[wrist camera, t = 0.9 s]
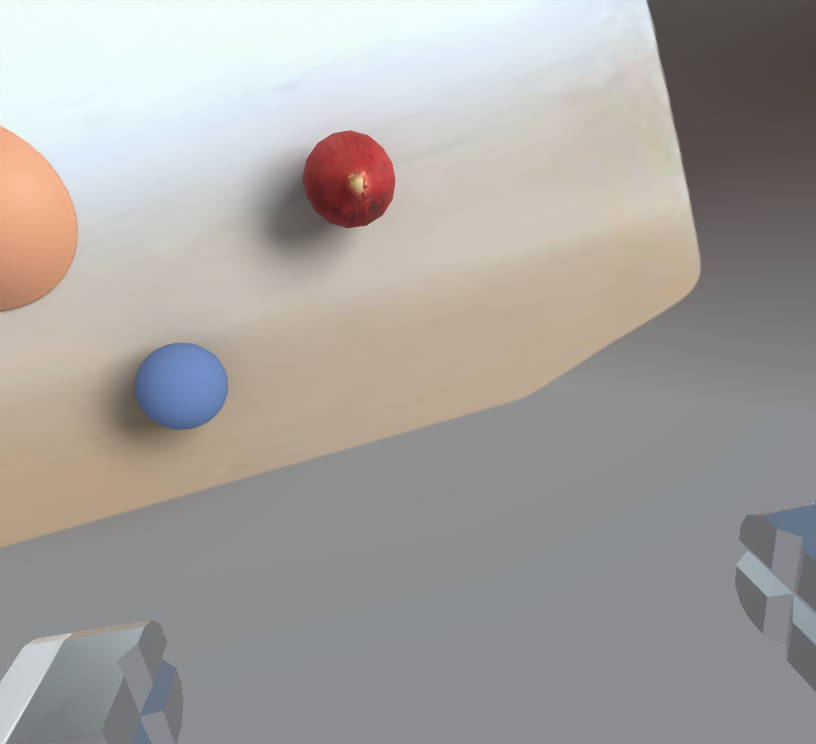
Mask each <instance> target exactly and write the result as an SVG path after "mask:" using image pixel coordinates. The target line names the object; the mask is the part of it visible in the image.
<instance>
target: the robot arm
mask: <svg viewBox="0 0 816 744" xmlns="http://www.w3.org/2000/svg"><path fill="white" fill-rule="evenodd" d="M739 540H740V541H741V542H742V544H743V545H744V546H745V547H746V548H747V550H748V551H747V552H746V553H745V555H744V556H743V557H742V559H741V560H740V561H739V563H738V564H737V565H736V578H735V586H736V589H737V593H738V596H739V599H740V603H741V605H742V607H743V608H744V610H745V612H746V614H747V615H748V617H749V619H750V620H751V621H752V622H753V623H754V625H755V626H756V627H757V628H758V629H759V630H760V631H761V633H762V634H764V635H766V636H768V637H770V638H772V639H774V640H776V641H778V642H781V643H783V644H785V645H786V655H787V661H788V662H789V663H790V664H791V666H792V667H793V668H794V669H795V670H796V671H797V672H798V673H799V674H800V675H801V676H802V678H803V679H804V680H805V681H806V682H807V683H808V684H809V685H810V686H811V687H812V688H813V690H814V691H815V692H816V502H814V503H811V504H805V505H799V506H794V507H788V508H783V509H778V510H772V511H766V512H761V513H756V514H751V515H747V516H746V518H745V519H744V521H743V522H742V524H741V529H740V537H739ZM166 645H167V640H166V638H165V635H164V633H163V630H162V628H161V625H160V623H158V622H155V621H153V620H149V621H143V622H136V623H129V624H123V625H116V626H110V627H103V628H97V629H90V630H84V631H77V632H75V633H69V634H62V635H57V636H49V637H43V638H36V639H34V640H33V641H32V642H30V643H28V644H27V645H25V646H24V647H23V649H22V650H21V652H20V653H19V655H18V656H17V658H16V659H15V661H14V662H13V664H12V665H11V667H10V668H9V670H8V672H7V673H6V675H5V676H4V678H3V679H2V681H1V682H0V744H177V741H178V738H179V734H180V730H181V726H182V713H183V695H182V686H181V681H180V678H179V675H178V672H177V669H176V667H174V666H173V665H171V664H170V663H168V662H166V661H165V660H164V659H162V657H163V653H164V651H165V648H166Z"/></svg>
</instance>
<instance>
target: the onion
mask: <svg viewBox="0 0 816 744" xmlns="http://www.w3.org/2000/svg"><path fill="white" fill-rule="evenodd" d="M303 182H304V187H305V191H306V196H307V198H308V200H309V201H310V203H311V204H312V206H313V208H314V209H315V211H316V212H317V213H318V214H320V215H321V216H322V217H323V218H324V219H326V220H327V221H328V222H329V223H332V224H336V225H339V226H342V227H346V228H351V227H359V226H366V225H368V224H370V223H371V222H373V221H374V220H376V219H378V218H379V217H381V216H382V215H383V214H384V212H385V211H386V209H387V207H388V206H389V204H390V203H391V201H392V199H393V193H394V187H395V175H394V170H393V165H392V162H391V160H390V159H389V157H388V155H387V154H386V152H385V150H384V149H383V147H381V146H380V145H379V144H378V143H377V142H375V141H374V140H373V139H372V138H371V137H370V136H368V135H365V134H362V133H358V132H354V131H351V130H350V131H344V132H339V133H333V134H331V135H330V136H328V137H327V138H325V139H324V140H322V141H321V142H319V143H318V144H317V145H316V146H315V148H314V149H313V151H312V152H311V154H310V155H309V156H308V158H307V160H306V165H305V170H304V174H303Z"/></svg>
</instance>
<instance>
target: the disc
mask: <svg viewBox="0 0 816 744" xmlns="http://www.w3.org/2000/svg"><path fill="white" fill-rule="evenodd" d="M76 244H77V221H76V215H75V211H74V207H73V204H72V201H71V199H70V196H69V194H68V191H67V189H66V188H65V186H64V184H63V182H62V181H61V179H60V177H59V176H58V174H57V173H56V172H55V170H54V169H53V168H52V166H51V165H50V164H49V163H48V162H47V161H46V160H45V158H44V157H43V156H42V155H41V154H40V153H39V152H37V151H36V150H35V149H34V148H33V147H32V146H31V145H30V144H28V143H27V142H25V141H24V140H23V139H21V138H20V137H18V136H17V135H16V134H14V133H12V132H10V131H8V130H7V129H5V128H3V127H1V126H0V311H1V310H9V309H13V308H17V307H21V306H23V305H26V304H29V303H31V302H33V301H35V300H37V299H39V298H41V297H42V296H44V295H45V294H46V293H48V292H49V291H50V290H52V289H53V288H54V287H55V286H56V285H57V284H58V283H59V282H60V281H61V279H62V278H63V277H64V275H65V274H66V272H67V271H68V269H69V267H70V265H71V263H72V260H73V257H74V254H75V251H76Z"/></svg>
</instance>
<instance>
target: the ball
mask: <svg viewBox="0 0 816 744" xmlns="http://www.w3.org/2000/svg"><path fill="white" fill-rule="evenodd" d="M135 393H136V398H137V401H138V403H139V405H140V407H141V409H142V410H143V412H144V413H145V414H146V415H147V416H148V417H149V418H150V419H151V420H153V421H154V422H156V423H158V424H159V425H162V426H164V427H167V428H171V429H180V430H181V429H191V428H195V427H198V426H201V425H203V424H205V423H207V422H208V421H209V420H211V419H212V418H213V417H214V416H216V415H217V413H218V412H219V411H220V410H221V408H222V406H223V405H224V402H225V400H226V397H227V393H228V379H227V375H226V372H225V369H224V367H223V365H222V364H221V362H220V361H219V360H218V358H217V357H216V356H215V355H213V354H212V353H211V352H210V351H208V350H206V349H205V348H203V347H200V346H198V345H194V344H190V343H175V344H169V345H166V346H163V347H161V348H159V349H157V350H156V351H154V352H153V353H151V354H150V355H149V356H148V357H147V358H146V359H145V360H144V362H143V363H142V364H141V366H140V368H139V370H138V373H137V376H136V380H135Z"/></svg>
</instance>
